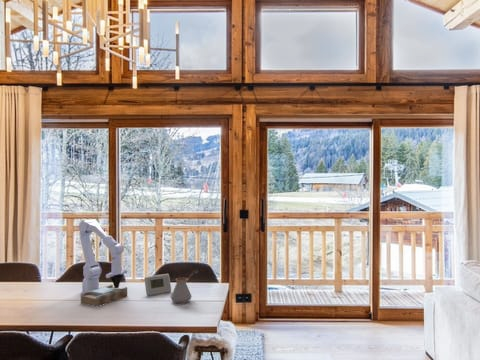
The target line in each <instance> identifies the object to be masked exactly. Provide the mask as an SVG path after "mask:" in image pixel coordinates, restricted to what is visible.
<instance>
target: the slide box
mask: <svg viewBox="0 0 480 360" xmlns="http://www.w3.org/2000/svg"><path fill="white" fill-rule="evenodd" d="M104 287H107V288H113V289H117V290H115V291H112V292H109V293H106V294H102V295H94V294H91V291H88V292H85V293H80V304H82V303H83V304H82V305H87V304H89V305H88V306H92V305H94V306H93V307H96V306H98V307H101V306H103V304H104V305H106V303H107V304H110V303H112V302H115V301H118V300H120V299H124V298H126V297H128V286H124V287H119V288H114V284H109V285H106V286H105V285H104V286H102V287H99V288H98V289H101V288H104ZM95 290H97V289H95ZM92 291H94V290H92ZM109 302H110V303H109ZM100 305H101V306H100Z"/></svg>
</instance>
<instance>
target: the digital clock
mask: <svg viewBox="0 0 480 360" xmlns="http://www.w3.org/2000/svg"><path fill="white" fill-rule="evenodd" d="M144 287H145V292H146V296H148V297H149V296H155V295H162V294H166V293H169V292H172V284H171V277H170V274H169V273H163V274H155V275H148V276H145V277H144Z"/></svg>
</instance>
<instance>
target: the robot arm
mask: <svg viewBox="0 0 480 360" xmlns="http://www.w3.org/2000/svg"><path fill="white" fill-rule="evenodd" d="M78 231H79V239H80V243H81V248H82V252H83V257H84V261H85V263H84V265H83V267H82V269H83V270H82V271H83V273H82V274H83V277H84V278H83V280H82V284H81V285H82V286H81V287H82V291H81V292H80V294H82V293H85V292H88V291H92V290H95V289H98V288H100V287H99V286H100V281H99V280H100V277H101V274H102V271H103V270H102V267H101V265H100V263H99V262H98V261H96V258H95V253H94V249H93V245H92V241H91V237H90V236H91V235H92V233H93V232H94V233H95V234H96V235H97V236H98V237H100V238H101V239H102V244H104V245H105V247H107V248H108V249H109V250H108V251H109V254H110V259H111V263H110V265H111V271H110V272H109V273H106V274H105V278H106V279H111V281H112V283H113V284H112V285H113V287H114V288H120V287H119V286H120V283H121V280H122V279H123V275H124V274H127V271H128V270H127V269H122V268H123V267H122V265H123V264H122V262H123V261H122V257H123V254H122V253H123V252H124V249H125V248H124V245H123V244H122V243H119V242H118V241H117V240H115V239H114V238H113V236H112V235H109V234H107V233H106V232H105V231H104V229H102V227H101V226H100V223H99V222H98V221H97V220H96V219H88V220H80V222H79V224H78Z"/></svg>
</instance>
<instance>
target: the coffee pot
mask: <svg viewBox="0 0 480 360" xmlns="http://www.w3.org/2000/svg"><path fill="white" fill-rule="evenodd" d="M198 273H199V271H198V270H197V269H195V270H193V271H192V273H190V275H189V276H188V277H178V278H177V277H176V278H175V282H176V284H175V286H174V288H173V291H172V293H171V296H170V299H171V301H172V302H173V303H174V304H176V305H185V304H188V303H189V301H191V299H192V297H193V296H192V293H191V292H190V289H189V286H188V285H187V282H188V281H189V280H190V279H191V278H192V277H193V276H194V274H198Z"/></svg>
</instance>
